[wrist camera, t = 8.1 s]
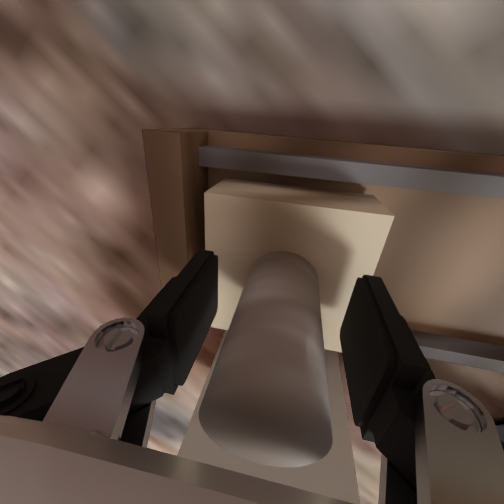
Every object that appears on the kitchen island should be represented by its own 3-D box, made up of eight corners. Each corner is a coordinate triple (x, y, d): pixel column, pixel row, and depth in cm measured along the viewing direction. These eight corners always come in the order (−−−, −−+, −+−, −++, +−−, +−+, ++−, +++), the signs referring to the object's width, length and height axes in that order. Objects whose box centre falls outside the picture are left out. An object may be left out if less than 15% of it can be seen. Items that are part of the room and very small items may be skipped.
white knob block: (337, 334, 18) (370, 540, 9) (316, 398, 21) (326, 590, 12) (229, 314, 19) (163, 481, 10) (226, 378, 22) (176, 543, 13)
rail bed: (763, 178, 10) (1062, 214, 6) (576, 361, 15) (672, 444, 11) (190, 128, 13) (141, 129, 9) (196, 293, 18) (167, 339, 14)
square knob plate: (373, 194, 11) (534, 356, 3) (337, 312, 15) (377, 532, 7) (225, 178, 12) (83, 275, 4) (223, 292, 15) (140, 465, 8)
